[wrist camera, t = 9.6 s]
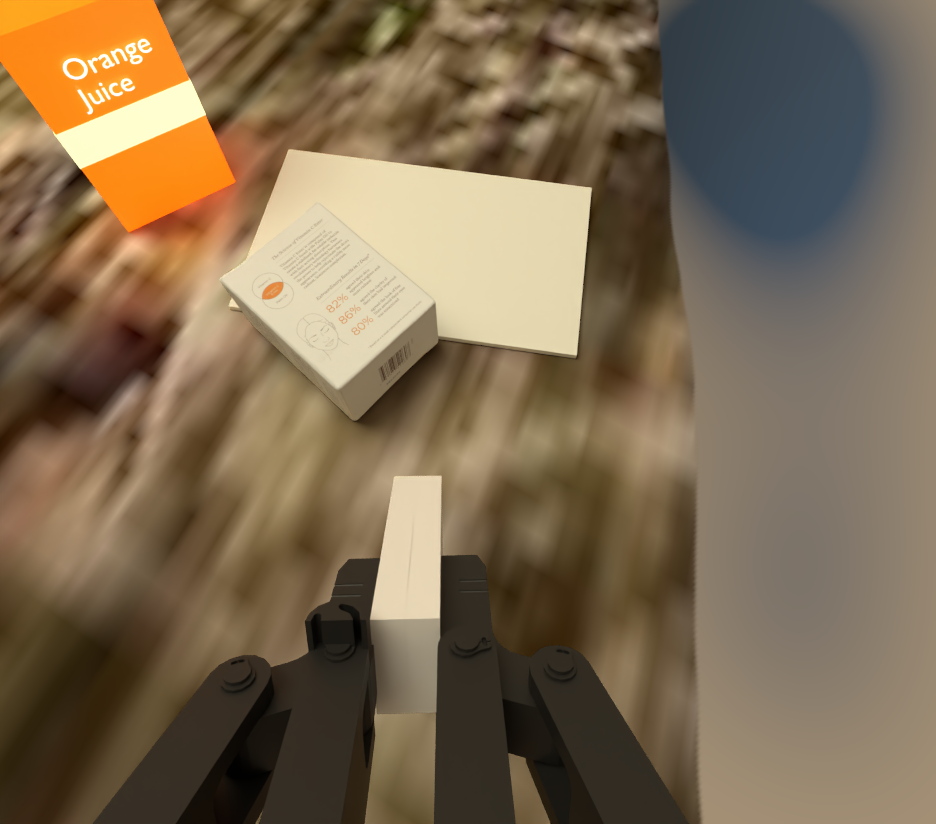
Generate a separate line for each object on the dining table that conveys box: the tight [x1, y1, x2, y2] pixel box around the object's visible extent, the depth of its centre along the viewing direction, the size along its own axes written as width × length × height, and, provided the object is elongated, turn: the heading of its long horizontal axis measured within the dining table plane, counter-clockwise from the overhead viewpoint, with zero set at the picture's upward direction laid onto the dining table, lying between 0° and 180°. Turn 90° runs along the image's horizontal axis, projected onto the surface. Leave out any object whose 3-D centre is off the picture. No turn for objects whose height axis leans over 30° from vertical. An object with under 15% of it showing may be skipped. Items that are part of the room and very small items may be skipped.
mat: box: [229, 149, 592, 358], centre depth 43 cm, size 24×15×1 cm, turn 81°
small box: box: [220, 202, 438, 421], centre depth 37 cm, size 8×6×10 cm
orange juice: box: [0, 0, 235, 232], centre depth 36 cm, size 8×9×20 cm
